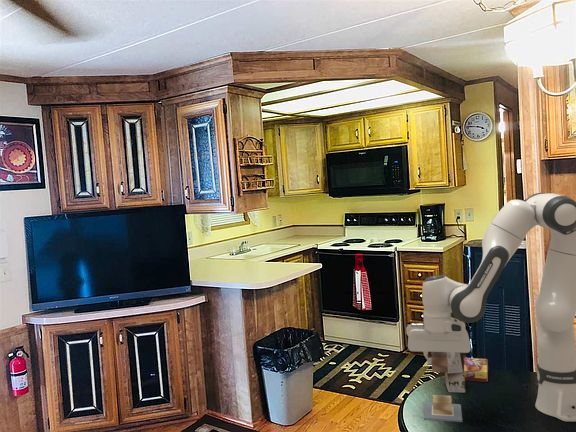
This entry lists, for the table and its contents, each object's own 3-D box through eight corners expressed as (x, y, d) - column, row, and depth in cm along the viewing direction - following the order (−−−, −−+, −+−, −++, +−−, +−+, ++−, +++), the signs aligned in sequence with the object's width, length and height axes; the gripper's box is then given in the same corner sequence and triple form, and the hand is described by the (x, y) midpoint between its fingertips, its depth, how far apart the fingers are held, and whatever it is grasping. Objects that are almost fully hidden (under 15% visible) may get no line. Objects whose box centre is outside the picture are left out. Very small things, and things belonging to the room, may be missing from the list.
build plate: (460, 406, 169) (460, 404, 169) (462, 422, 157) (462, 419, 157) (424, 404, 172) (424, 402, 172) (423, 419, 161) (423, 417, 161)
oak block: (451, 407, 167) (451, 395, 166) (452, 415, 161) (451, 403, 161) (433, 406, 168) (432, 394, 168) (433, 413, 163) (432, 402, 162)
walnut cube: (447, 367, 166) (446, 352, 166) (447, 372, 161) (447, 357, 161) (432, 366, 167) (431, 352, 167) (432, 371, 162) (431, 357, 162)
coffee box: (466, 392, 179) (463, 349, 178) (448, 392, 180) (445, 349, 180) (462, 383, 188) (459, 341, 187) (445, 383, 189) (442, 342, 189)
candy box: (487, 383, 187) (488, 368, 201) (486, 372, 186) (487, 358, 200) (463, 381, 190) (465, 366, 204) (462, 370, 190) (464, 356, 204)
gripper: (405, 325, 163) (407, 366, 164) (469, 326, 157) (472, 368, 158) (406, 320, 169) (408, 360, 170) (468, 321, 163) (470, 362, 164)
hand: (439, 364), depth 164 cm, fingers closed on walnut cube, 5 cm apart
